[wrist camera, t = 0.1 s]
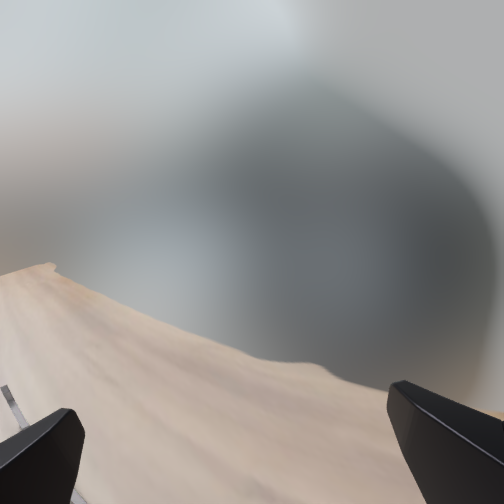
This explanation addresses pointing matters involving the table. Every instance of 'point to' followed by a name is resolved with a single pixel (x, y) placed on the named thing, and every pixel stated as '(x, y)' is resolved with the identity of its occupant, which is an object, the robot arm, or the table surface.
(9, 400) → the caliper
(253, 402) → the table surface
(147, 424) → the table surface
